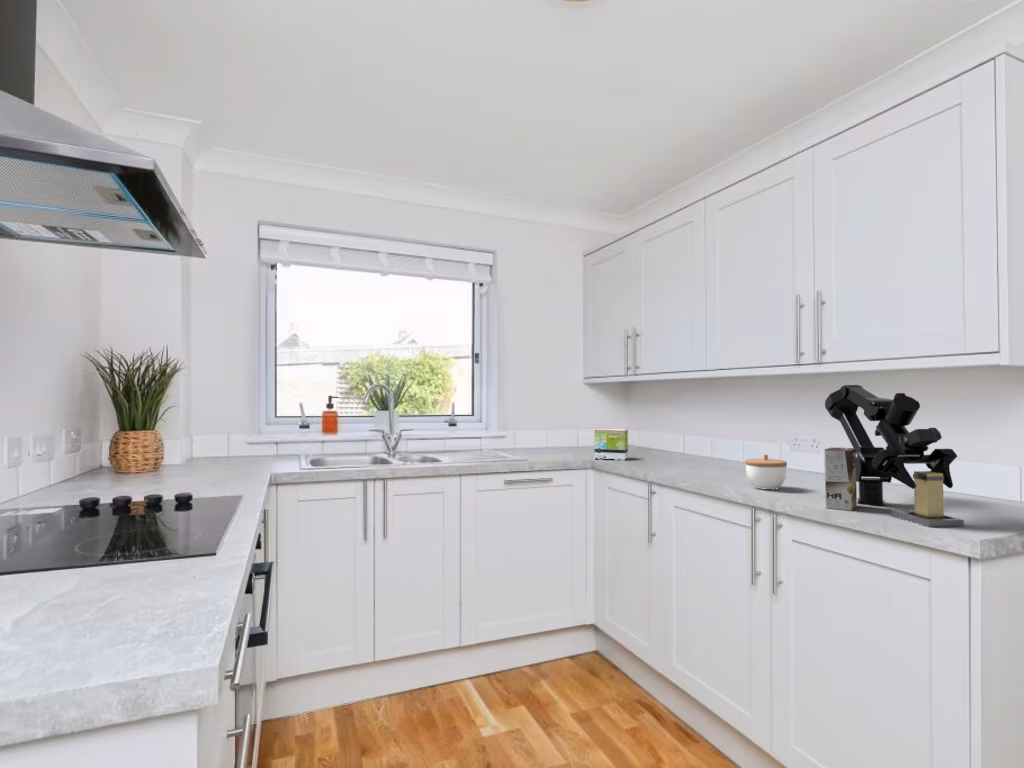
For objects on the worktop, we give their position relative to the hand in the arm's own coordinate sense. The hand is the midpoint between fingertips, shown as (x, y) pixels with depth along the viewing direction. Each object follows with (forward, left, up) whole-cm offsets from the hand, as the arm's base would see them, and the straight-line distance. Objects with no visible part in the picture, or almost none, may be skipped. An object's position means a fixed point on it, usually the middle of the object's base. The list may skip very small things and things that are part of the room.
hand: (933, 487), depth 133 cm
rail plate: (-1, -1, -9) cm, 9 cm away
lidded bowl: (-35, -41, -9) cm, 55 cm away
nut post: (-1, -1, -9) cm, 9 cm away
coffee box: (-12, -19, -9) cm, 24 cm away
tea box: (-89, -117, -9) cm, 147 cm away
